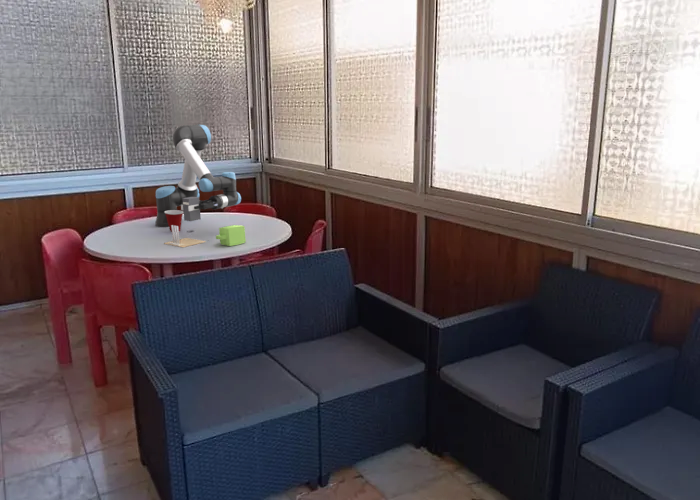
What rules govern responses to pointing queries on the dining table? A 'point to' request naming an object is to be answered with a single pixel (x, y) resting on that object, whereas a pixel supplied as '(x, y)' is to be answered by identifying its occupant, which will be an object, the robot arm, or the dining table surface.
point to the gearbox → (231, 235)
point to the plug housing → (191, 214)
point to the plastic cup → (174, 218)
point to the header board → (184, 241)
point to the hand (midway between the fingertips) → (185, 208)
